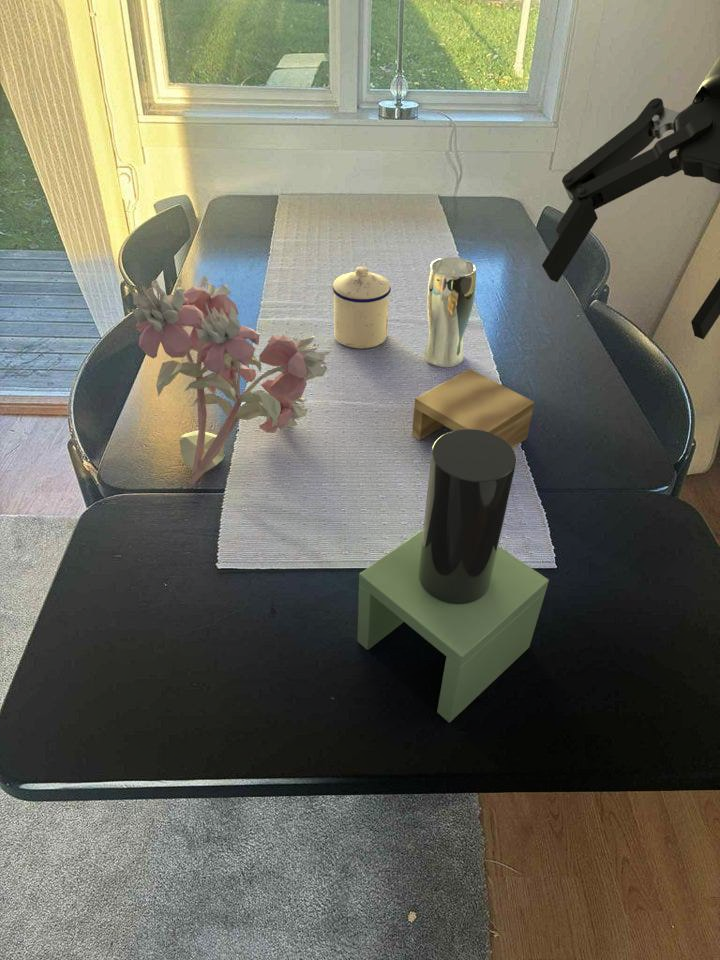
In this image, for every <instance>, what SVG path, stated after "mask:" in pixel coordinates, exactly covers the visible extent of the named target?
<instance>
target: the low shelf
mask: <svg viewBox="0 0 720 960" xmlns="http://www.w3.org/2000/svg"><path fill="white" fill-rule="evenodd" d="M413 407H414V408H413V418H412V430H411V436H413V437H414V438H415V439H418V440H419V441H421V440H423V439H424V438H426V437H427V436H429V435H431V434H432V433H434V432H436V431H438V430H439V429H441V428H443V427H445V428H448V429H449V430H450V431H455V430H460V429H476V430H482V431H486V432H489V433H492V434H495V435H497V436H499V437H501V438H502V439H504V440H505V441H506V442H508V443H509V444H510V446H511V447H512V448H513V449H514V448H515V447H517V446H518V445H520V444H521V443H524V441H526V440H527V439H528V434H529V430H530V426H531V420H532V416H533V412H534V408H535V401H533V400H531V399H529V398H528V397H526V396H523V395H522V394H520V393H518V392H516V391H514V390H512V389H510V388H508V387H506V386H504V385H503V384H500V383H499V382H497V381H495V380H493V379H491V378H489V377H487V376H486V375H483V374H481V373H479V372H477V371H475V370H473V369H471V368H467V369H466V370H464V371H461V372H460V373H458V374H456V375H454V376H453V377H451V378H450V379H448V380H446V381H444V382H443V383H440V384H438V385H437V386H435V387H433V388H432V389H430V390H428V391H426V392H424V393H422V394H420V395H418V396H417V397H415V398H414V406H413Z"/></svg>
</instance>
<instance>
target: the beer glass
mask: <svg viewBox="0 0 720 960" xmlns="http://www.w3.org/2000/svg"><path fill="white" fill-rule="evenodd" d="M477 270H478V267H477V266H476V264H475V263H474V262H473V261H471V260H469V259H466V258H462V257H457V256H456V257H454V256H446V257H440V258H437V259H435V260H433V261H432V262H431V264H430V271H429V277H428V283H427V290H426V312H427V322H428V340H427V344H426V348H425V351H424V359H425V360H426V362H427V363H428V364H430V365H433V366H435V367H438V368H453V367H457V366H459V365H460V364H461V363H463V361H464V356H465V355H464V338H465V337H464V336H465V333H466V329H467V327H468V324H469V320H470V317H471V313H472V311H473V308H474V303H475V296H476V288H477V287H476V286H477Z"/></svg>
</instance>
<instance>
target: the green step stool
mask: <svg viewBox="0 0 720 960" xmlns="http://www.w3.org/2000/svg"><path fill="white" fill-rule="evenodd" d="M422 536H423V528H422V529H420V530H419V531H418V532H416V533H415V534H414V535H413V536H411V537H409V538H408V539H407V540H405V541H404V542H402V543H401V544H399V545H398V546H396V547H395V548H394V549H393V550H391V551H389V552H388V553H386V555H384V556H382V557H381V558H379V559H378V560H376V561H375V562H374V563H373V564H371V565H370V566H368V567H367V568H365V569H364V570H363V571H361V572H360V573H359V575H358V604H357V605H358V610H357V643H359V645H361V646H362V647H363V648H364V649H365V650H367V651H369V650H370V649H372V648H373V647H374V646H375V645H377V644H378V643H379V642H381V640H383V639H385V637H387V636H388V635H389V634H391V633H392V632H393V631H394V630H395V629H397V628H398V627H400V626H401V625H402V624H404V623H405V624H406V625H408V627H410V628H411V629H412V630H414V631H415V633H417V634H419V635H420V636H421V637H422V638H423V639H424V640H426V641H427V642H428V643H429V644H431V645H432V646H433V647H434V648H435V649H437V650H438V651H439V652H440V653H441V654H442V655H444V656H445V663H444V669H443V675H442V681H441V686H440V693H439V697H438V703H437V704H438V705H437V709H436V712H437V714H438V715H440V716H441V717H442V718H443V719H444V720H445V721H446V722H447V723H449V724H450V723H451V722H452V721H453V720H455V718H456V717H458V715H459V714H461V713H462V712H463V711H464V710H466V708H467V707H468V706H469V705H470V704H471V703H473V701H474V700H476V699H477V697H479V696H480V695H481V694H482V693H483V692H484V691H485V690H486V689H487V688H489V686H490V685H491V684H492V683H493V682H494V681H495V680H496V679H498V678H499V676H501V675H502V674H503V673H504V672H505V671H506V670H508V668H510V667H511V665H512V664H514V663H515V661H517V660H518V659H519V658H520V657H521V656H522V655H523V654H524V653H525V652H526V651H527V650H528V649H530V646H531V643H532V639H533V637H534V632H535V629H536V626H537V623H538V619H539V615H540V613H541V609H542V605H543V602H544V598H545V596H546V592H547V589H548V585H549V582H550V580H549V578H547V577H546V576H543V575H542V574H541V573H539V572H538V571H536V570H535V569H534V568H532V567H530V566H529V565H528V564H526V563H525V562H523V561H521V560H520V559H519V558H517V557H515V556H514V555H512V554H511V553H510V552H508V551H506V550H505V549H504V548H502V547H501V546H499V545H498V550H497V555H496V559H495V564H494V569H493V573H492V578H491V583H490V586H489V589H488V591H487V592H486V593H485V594H484V595H483V596H482V597H481V598H480V599H478V600H476V601H474V602H471V603H467V604H450V603H446V602H443V601H440V600H438V599H436V598H434V597H433V596H431V595H430V594H429V593H428V592H427V591H426V590H425V589H424V588H423V586H422V585H421V583H420V580H419V575H418V574H419V563H420V554H421V545H422Z"/></svg>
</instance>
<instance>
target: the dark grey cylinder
mask: <svg viewBox="0 0 720 960" xmlns="http://www.w3.org/2000/svg"><path fill="white" fill-rule="evenodd" d="M430 456H431V457H430V463H429V473H428V480H427V481H428V482H427V492H426V500H425V509H424V516H423V517H424V519H423V528H422V529H423V536H422V545H421V554H420V563H419V574H418V575H419V580H420V583H421V585H422V586H423V588H424V589H425V590H426V591H427V592H428V593H429V594H430V595H431V596H433V597H434V598H436V599H438V600H440V601H443V602H446V603H450V604H467V603H471V602H474V601H476V600H478V599H480V598H481V597H482V596H483V595H484V594H485V593H486V592H487V591H488V589H489V586H490V583H491V578H492V573H493V569H494V564H495V559H496V555H497V550H498V546H499V545H500V541H501V535H502V531H503V526H504V521H505V516H506V512H507V507H508V503H509V498H510V493H511V488H512V484H513V479H514V474H515V470H516V466H517V455H516V451H515V450H514V448H512V447H511V446H510V444H509V443H508V442H506V441H505V440H504V439H502V438H501V437H499V436H497V435H495V434H492V433H489V432H486V431H482V430H476V429H460V430H455V431H453V430H450V431H449V432H446V433H444V434H442V435H440V437H439V436H438V438H437V439H436V440H435V441H434V443H433V445H432V447H431V455H430Z"/></svg>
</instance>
